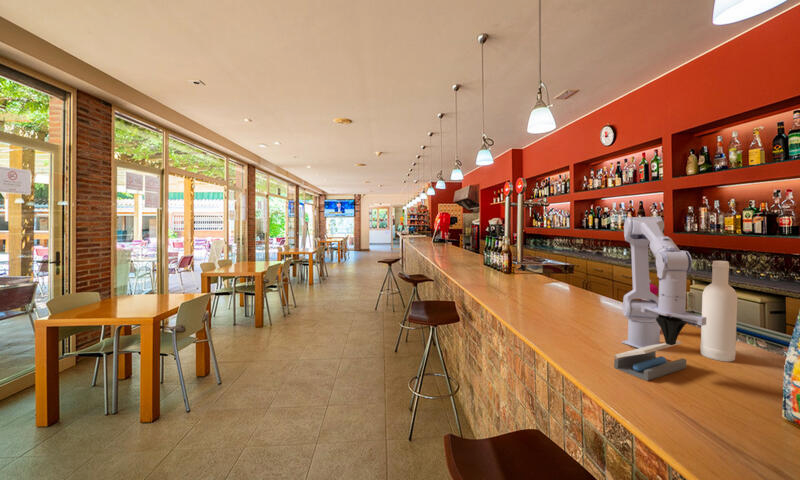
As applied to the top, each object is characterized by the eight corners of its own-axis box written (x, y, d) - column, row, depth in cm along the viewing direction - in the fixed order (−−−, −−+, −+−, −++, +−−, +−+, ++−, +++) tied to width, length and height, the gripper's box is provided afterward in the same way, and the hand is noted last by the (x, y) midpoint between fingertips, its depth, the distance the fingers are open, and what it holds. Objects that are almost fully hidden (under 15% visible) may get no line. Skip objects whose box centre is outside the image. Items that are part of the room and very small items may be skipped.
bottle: (734, 356, 103) (738, 260, 101) (736, 364, 97) (740, 263, 95) (700, 349, 108) (703, 259, 107) (699, 357, 103) (702, 261, 101)
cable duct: (651, 356, 103) (652, 348, 103) (686, 368, 95) (686, 359, 95) (614, 367, 96) (614, 359, 96) (647, 381, 88) (647, 371, 88)
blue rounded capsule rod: (658, 361, 99) (658, 355, 99) (666, 364, 97) (666, 357, 97) (631, 370, 94) (631, 363, 94) (638, 373, 92) (638, 366, 92)
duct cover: (650, 348, 103) (649, 345, 103) (681, 343, 95) (680, 340, 96) (615, 357, 96) (614, 355, 97) (645, 353, 89) (643, 350, 89)
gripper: (634, 291, 95) (633, 337, 96) (696, 302, 82) (694, 356, 82) (649, 289, 98) (648, 334, 98) (711, 299, 84) (709, 351, 85)
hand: (670, 343), depth 91 cm, fingers closed
